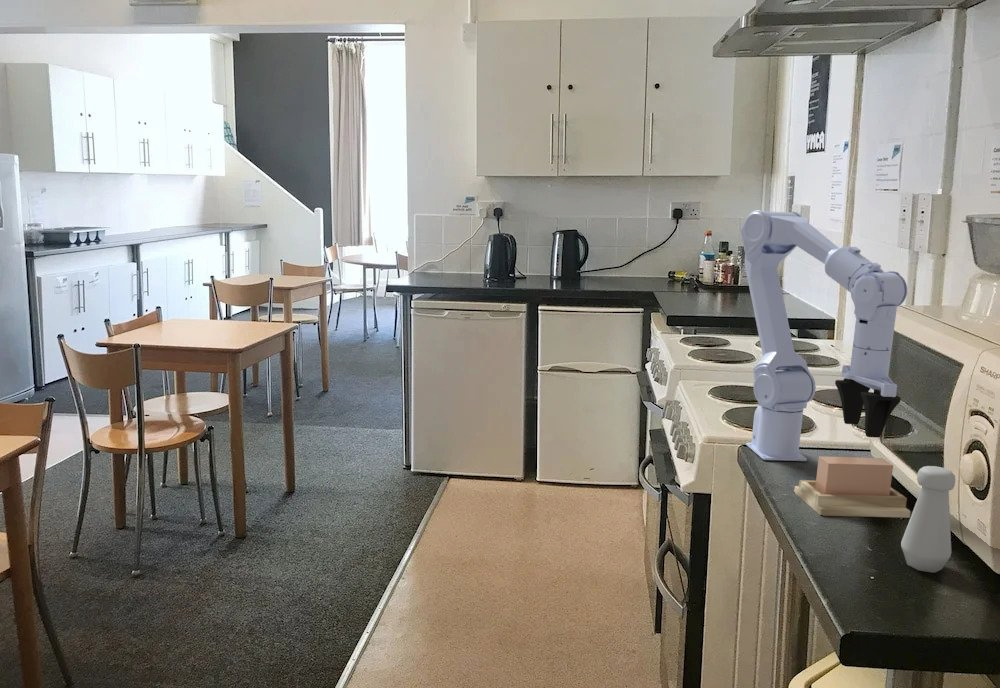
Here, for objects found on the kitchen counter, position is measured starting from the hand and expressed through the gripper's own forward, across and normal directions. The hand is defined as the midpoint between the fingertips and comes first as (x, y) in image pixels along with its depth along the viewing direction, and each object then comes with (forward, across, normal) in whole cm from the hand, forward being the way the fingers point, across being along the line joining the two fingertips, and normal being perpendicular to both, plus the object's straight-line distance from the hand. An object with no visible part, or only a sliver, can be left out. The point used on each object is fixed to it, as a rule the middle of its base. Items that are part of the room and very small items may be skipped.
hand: (861, 430), depth 142 cm
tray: (+9, +9, -5) cm, 14 cm away
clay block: (+8, +9, -5) cm, 13 cm away
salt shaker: (+10, +31, -6) cm, 33 cm away
